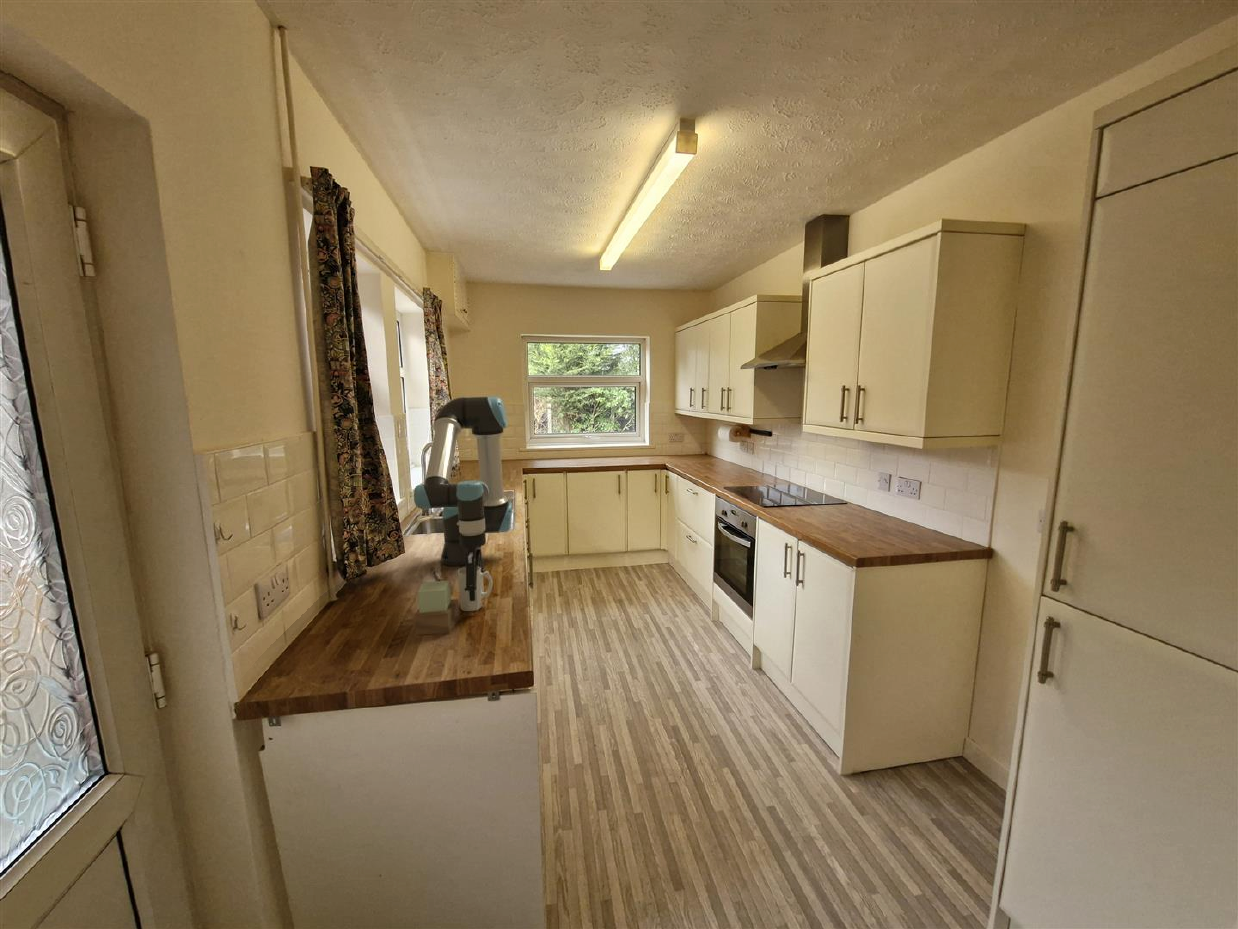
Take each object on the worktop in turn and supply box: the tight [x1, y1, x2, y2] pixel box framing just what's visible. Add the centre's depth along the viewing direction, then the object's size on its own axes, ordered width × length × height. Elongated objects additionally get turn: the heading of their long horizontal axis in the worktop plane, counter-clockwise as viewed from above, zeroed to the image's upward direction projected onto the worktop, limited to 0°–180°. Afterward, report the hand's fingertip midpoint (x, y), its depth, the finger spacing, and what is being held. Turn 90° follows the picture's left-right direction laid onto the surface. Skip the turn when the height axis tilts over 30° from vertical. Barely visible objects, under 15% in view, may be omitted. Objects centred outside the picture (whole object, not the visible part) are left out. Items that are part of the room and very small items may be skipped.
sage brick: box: [417, 580, 452, 613], centre depth 132 cm, size 7×7×6 cm
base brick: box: [414, 598, 461, 635], centre depth 133 cm, size 9×9×6 cm
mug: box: [457, 566, 494, 612], centre depth 145 cm, size 10×7×12 cm, turn 103°
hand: (476, 602), depth 146 cm, fingers open, 10 cm apart
